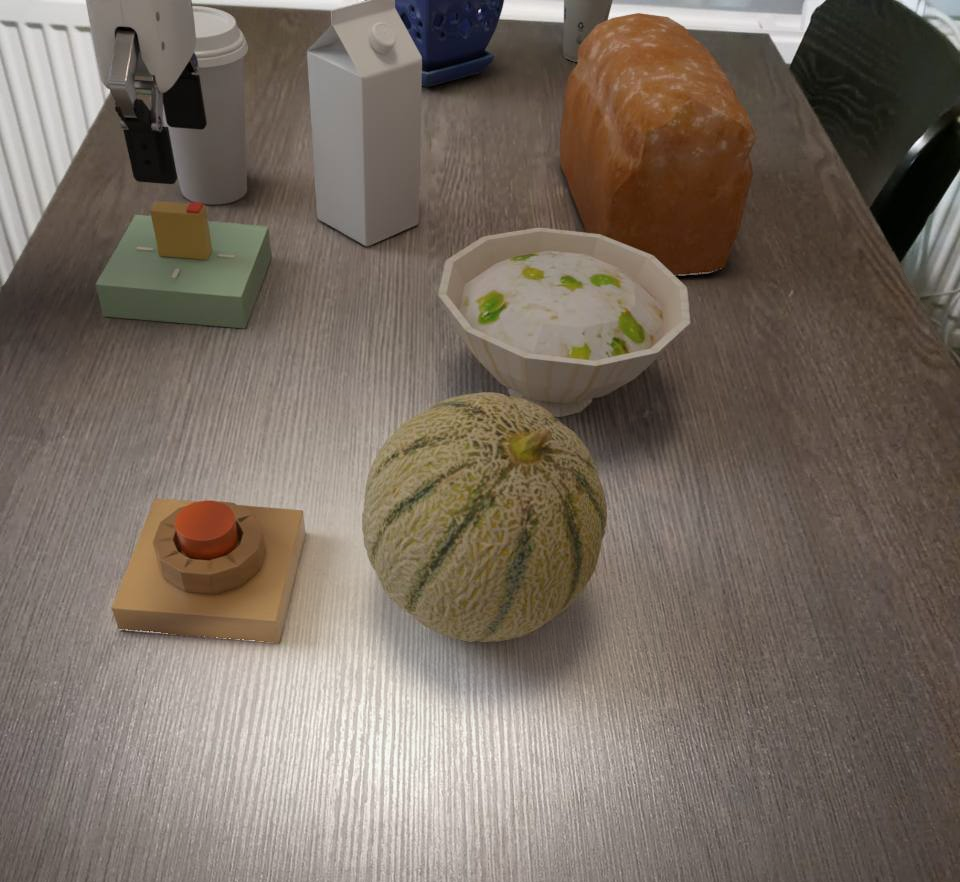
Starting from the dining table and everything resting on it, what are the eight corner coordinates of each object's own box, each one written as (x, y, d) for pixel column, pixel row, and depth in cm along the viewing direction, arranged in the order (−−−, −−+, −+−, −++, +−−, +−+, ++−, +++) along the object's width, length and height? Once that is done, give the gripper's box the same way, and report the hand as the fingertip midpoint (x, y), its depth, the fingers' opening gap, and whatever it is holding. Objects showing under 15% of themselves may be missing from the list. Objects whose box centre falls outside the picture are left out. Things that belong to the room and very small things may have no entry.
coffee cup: (169, 167, 100) (140, 0, 88) (264, 168, 101) (247, 4, 89) (160, 211, 94) (128, 39, 82) (261, 213, 95) (242, 43, 83)
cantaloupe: (383, 511, 69) (382, 323, 57) (589, 537, 68) (628, 353, 57) (343, 674, 59) (331, 487, 48) (582, 704, 59) (627, 523, 47)
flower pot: (355, 63, 121) (352, -50, 112) (436, 42, 127) (439, -67, 118) (425, 100, 115) (427, -16, 106) (505, 76, 121) (514, -35, 112)
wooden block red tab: (158, 256, 83) (149, 207, 80) (164, 245, 84) (154, 197, 81) (207, 260, 83) (200, 212, 80) (212, 250, 84) (205, 201, 81)
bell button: (173, 558, 59) (167, 537, 58) (187, 518, 62) (182, 497, 60) (231, 563, 60) (228, 542, 58) (243, 523, 62) (240, 502, 60)
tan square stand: (118, 631, 60) (103, 587, 57) (160, 521, 66) (149, 476, 63) (279, 644, 60) (273, 601, 57) (305, 533, 67) (301, 489, 64)
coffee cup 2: (617, 59, 127) (631, -30, 120) (583, 71, 124) (596, -19, 116) (577, 43, 130) (588, -45, 123) (543, 54, 127) (552, -35, 119)
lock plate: (103, 316, 82) (94, 282, 79) (142, 245, 89) (135, 212, 87) (245, 329, 82) (241, 295, 80) (271, 257, 90) (268, 224, 87)
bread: (596, 280, 91) (626, 102, 79) (550, 155, 108) (569, -7, 96) (736, 279, 93) (787, 106, 81) (670, 157, 109) (704, -2, 97)
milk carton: (316, 220, 95) (302, -3, 80) (370, 198, 98) (366, -19, 84) (366, 249, 92) (361, 23, 77) (419, 225, 95) (424, 5, 81)
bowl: (634, 494, 72) (663, 380, 64) (395, 424, 75) (395, 308, 67) (689, 358, 84) (719, 249, 76) (481, 304, 87) (489, 193, 79)
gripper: (105, -149, 69) (154, 105, 82) (20, -80, 58) (92, 201, 71) (210, -141, 69) (242, 112, 83) (144, -70, 58) (193, 208, 71)
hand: (172, 153), depth 77 cm, fingers open, 9 cm apart
